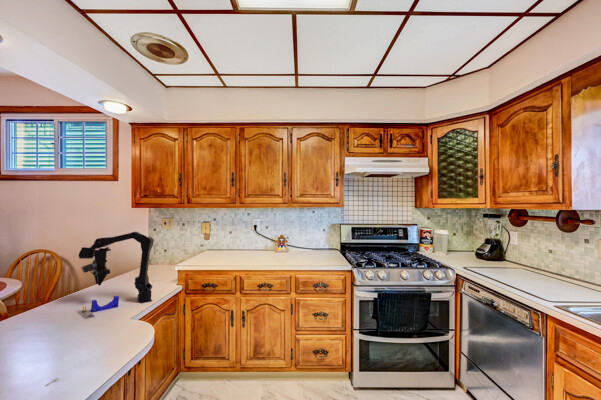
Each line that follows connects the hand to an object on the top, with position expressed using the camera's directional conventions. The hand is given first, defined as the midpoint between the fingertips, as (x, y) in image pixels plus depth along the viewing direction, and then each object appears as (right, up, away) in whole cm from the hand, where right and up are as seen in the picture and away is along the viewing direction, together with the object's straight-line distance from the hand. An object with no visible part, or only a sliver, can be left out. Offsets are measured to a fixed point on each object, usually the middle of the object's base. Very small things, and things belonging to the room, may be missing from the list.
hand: (98, 284), depth 158 cm
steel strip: (+8, -10, -19) cm, 23 cm away
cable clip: (+11, -11, -10) cm, 19 cm away
